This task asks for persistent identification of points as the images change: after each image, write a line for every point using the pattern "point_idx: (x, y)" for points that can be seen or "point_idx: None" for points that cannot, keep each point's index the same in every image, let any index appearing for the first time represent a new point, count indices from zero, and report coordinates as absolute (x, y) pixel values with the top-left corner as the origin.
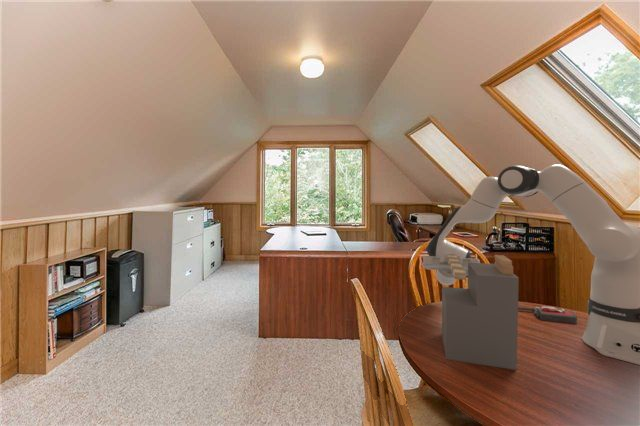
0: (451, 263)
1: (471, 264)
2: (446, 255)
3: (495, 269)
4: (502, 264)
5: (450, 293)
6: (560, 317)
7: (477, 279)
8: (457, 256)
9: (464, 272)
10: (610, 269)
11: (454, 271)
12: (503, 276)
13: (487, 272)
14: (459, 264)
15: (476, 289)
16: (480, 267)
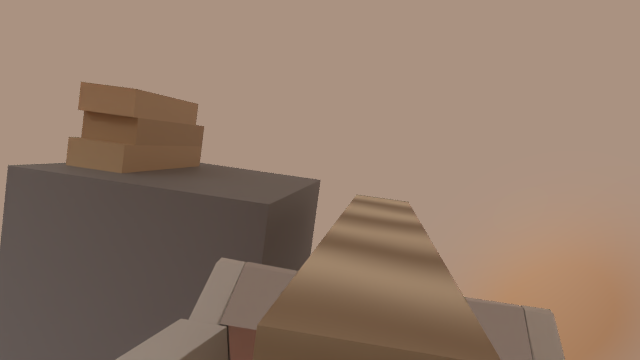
0: (416, 222)
1: (269, 195)
2: (487, 303)
3: (180, 171)
4: (192, 124)
5: None
6: None
7: (317, 199)
8: (281, 269)
9: (361, 195)
10: None
11: (408, 203)
12: (220, 166)
13: (257, 175)
14: (357, 211)
15: (308, 252)
16: (244, 183)
